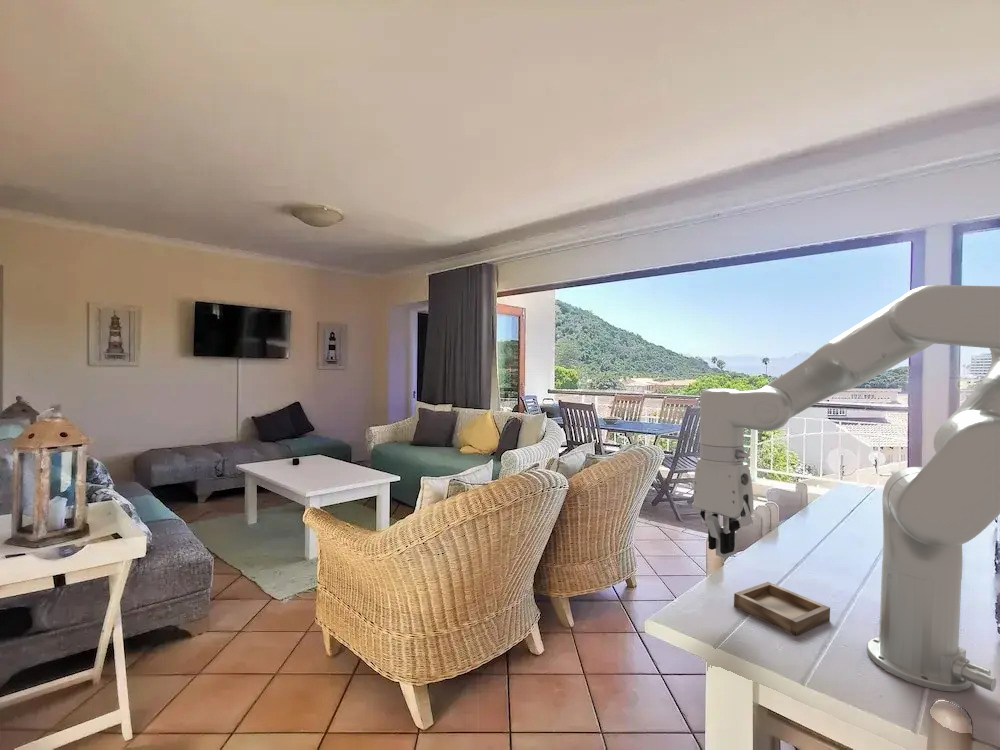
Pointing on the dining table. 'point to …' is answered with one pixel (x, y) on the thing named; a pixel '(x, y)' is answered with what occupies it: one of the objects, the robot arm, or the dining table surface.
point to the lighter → (718, 534)
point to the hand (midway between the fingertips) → (721, 549)
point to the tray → (782, 608)
